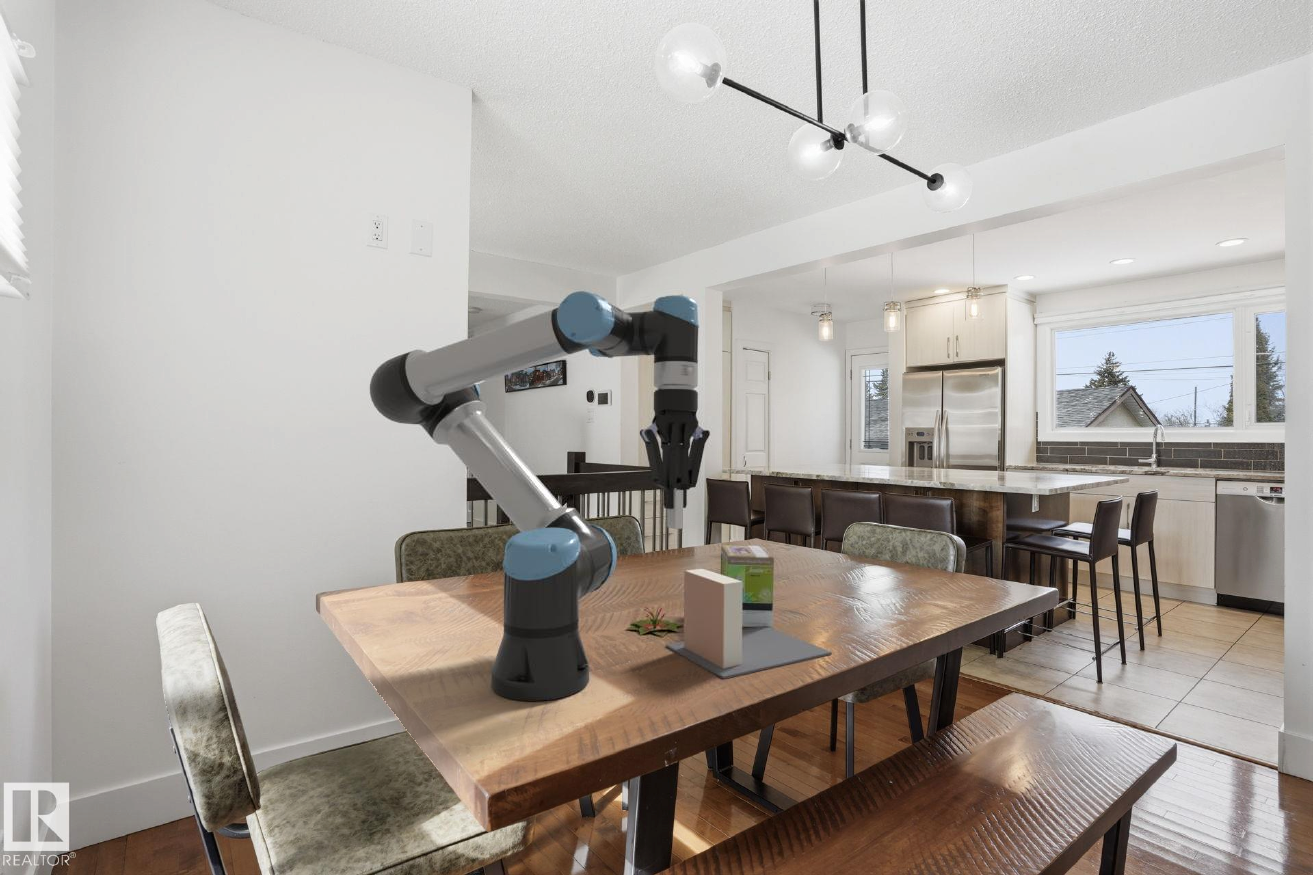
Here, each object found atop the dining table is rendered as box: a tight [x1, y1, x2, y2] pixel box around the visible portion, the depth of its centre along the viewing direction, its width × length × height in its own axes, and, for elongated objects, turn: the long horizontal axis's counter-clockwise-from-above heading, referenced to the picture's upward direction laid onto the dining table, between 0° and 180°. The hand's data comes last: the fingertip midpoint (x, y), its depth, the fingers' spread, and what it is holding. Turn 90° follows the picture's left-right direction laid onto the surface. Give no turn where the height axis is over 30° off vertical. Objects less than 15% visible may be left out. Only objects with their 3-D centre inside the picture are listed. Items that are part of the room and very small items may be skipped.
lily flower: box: [627, 606, 683, 638], centre depth 127 cm, size 12×12×5 cm
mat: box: [665, 626, 833, 680], centre depth 113 cm, size 24×18×1 cm
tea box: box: [720, 544, 775, 628], centre depth 135 cm, size 15×10×15 cm
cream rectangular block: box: [683, 568, 743, 668], centre depth 110 cm, size 4×12×14 cm, turn 30°
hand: (675, 527), depth 106 cm, fingers closed
